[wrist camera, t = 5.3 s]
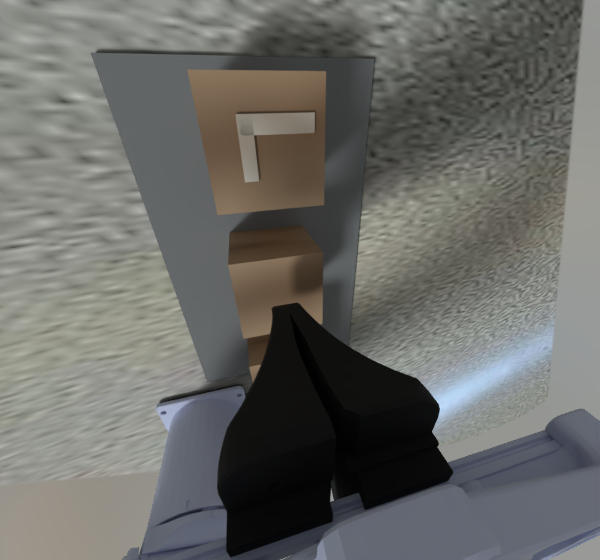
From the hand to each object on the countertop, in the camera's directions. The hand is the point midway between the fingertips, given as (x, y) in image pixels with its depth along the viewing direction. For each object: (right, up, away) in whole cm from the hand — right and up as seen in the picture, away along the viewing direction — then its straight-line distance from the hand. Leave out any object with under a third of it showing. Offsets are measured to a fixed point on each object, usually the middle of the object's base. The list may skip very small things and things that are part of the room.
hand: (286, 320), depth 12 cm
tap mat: (-2, +4, +6) cm, 7 cm away
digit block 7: (-2, +10, +2) cm, 10 cm away
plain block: (-2, +3, +6) cm, 7 cm away
